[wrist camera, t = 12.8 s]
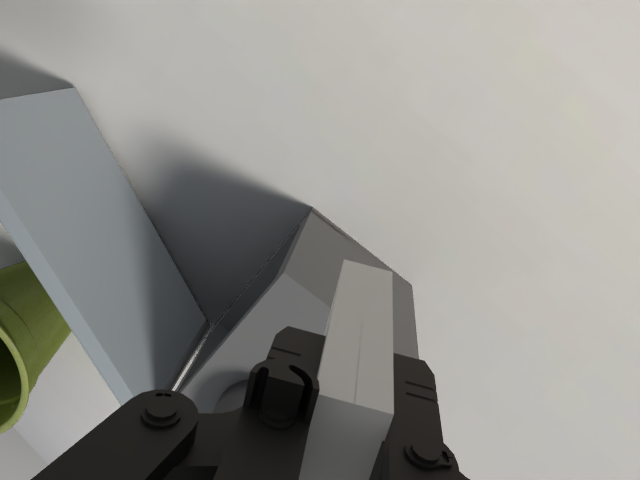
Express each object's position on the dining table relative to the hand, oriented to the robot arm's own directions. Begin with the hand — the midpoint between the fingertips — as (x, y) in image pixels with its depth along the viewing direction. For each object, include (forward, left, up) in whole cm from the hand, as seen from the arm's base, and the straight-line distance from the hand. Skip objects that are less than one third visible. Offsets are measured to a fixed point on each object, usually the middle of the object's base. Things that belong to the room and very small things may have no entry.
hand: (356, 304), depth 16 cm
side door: (+11, +16, -23) cm, 30 cm away
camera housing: (-4, +13, -24) cm, 28 cm away
